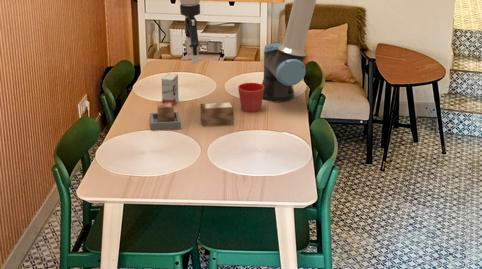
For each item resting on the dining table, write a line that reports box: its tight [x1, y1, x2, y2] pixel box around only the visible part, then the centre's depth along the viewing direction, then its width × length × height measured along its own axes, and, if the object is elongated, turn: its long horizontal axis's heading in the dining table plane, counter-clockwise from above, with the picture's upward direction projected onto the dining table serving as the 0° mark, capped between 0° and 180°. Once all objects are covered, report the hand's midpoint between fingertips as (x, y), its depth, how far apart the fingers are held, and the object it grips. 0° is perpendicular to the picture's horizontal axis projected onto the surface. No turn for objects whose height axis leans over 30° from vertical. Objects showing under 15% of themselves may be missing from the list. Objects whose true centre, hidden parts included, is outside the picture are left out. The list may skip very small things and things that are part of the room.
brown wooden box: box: [199, 102, 234, 127], centre depth 267 cm, size 12×6×7 cm, turn 100°
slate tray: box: [149, 111, 182, 131], centre depth 266 cm, size 11×11×3 cm
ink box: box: [161, 72, 179, 107], centre depth 286 cm, size 9×5×12 cm, turn 168°
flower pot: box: [237, 82, 264, 113], centre depth 281 cm, size 11×11×10 cm
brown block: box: [156, 102, 175, 122], centre depth 265 cm, size 6×5×7 cm
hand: (192, 58), depth 268 cm, fingers open, 13 cm apart
